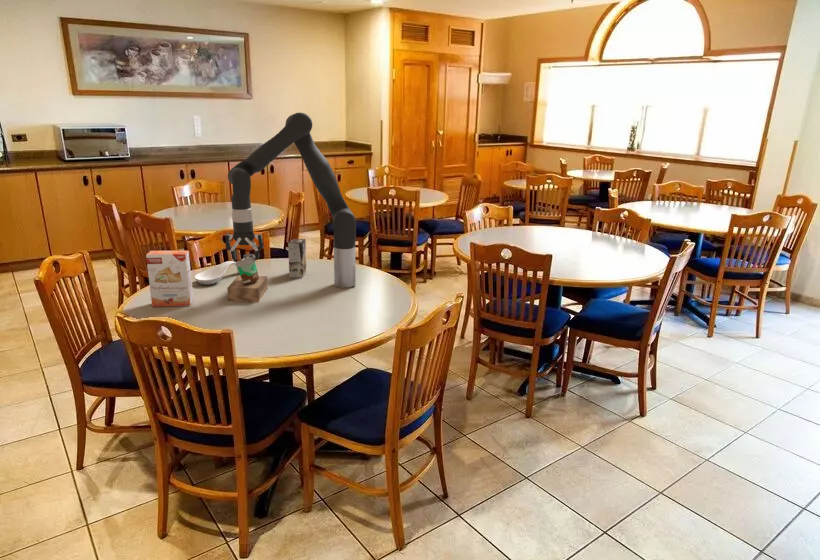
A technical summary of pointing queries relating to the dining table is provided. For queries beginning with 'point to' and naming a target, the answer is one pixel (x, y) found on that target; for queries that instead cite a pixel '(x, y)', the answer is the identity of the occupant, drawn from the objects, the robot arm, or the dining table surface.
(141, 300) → the dining table surface
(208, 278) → the spoon rest
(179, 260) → the cracker box
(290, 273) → the coffee box
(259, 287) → the walnut block
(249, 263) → the food container
